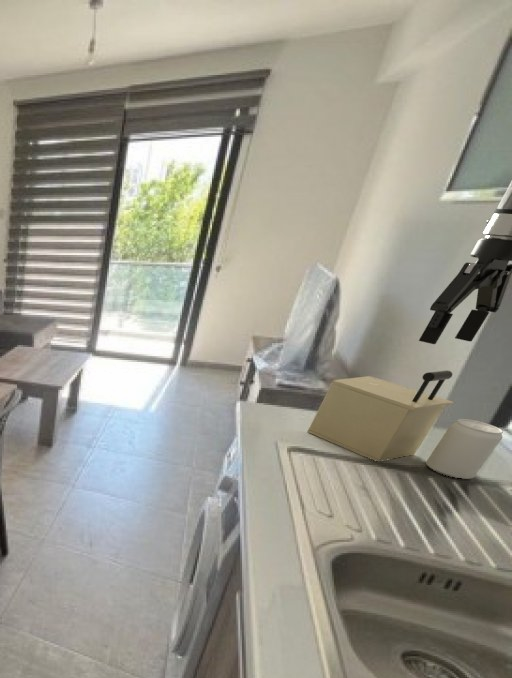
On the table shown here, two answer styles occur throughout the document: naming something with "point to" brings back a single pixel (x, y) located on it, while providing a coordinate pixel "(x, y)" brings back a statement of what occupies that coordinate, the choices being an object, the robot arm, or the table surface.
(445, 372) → the box lid
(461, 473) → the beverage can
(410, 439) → the tan box
